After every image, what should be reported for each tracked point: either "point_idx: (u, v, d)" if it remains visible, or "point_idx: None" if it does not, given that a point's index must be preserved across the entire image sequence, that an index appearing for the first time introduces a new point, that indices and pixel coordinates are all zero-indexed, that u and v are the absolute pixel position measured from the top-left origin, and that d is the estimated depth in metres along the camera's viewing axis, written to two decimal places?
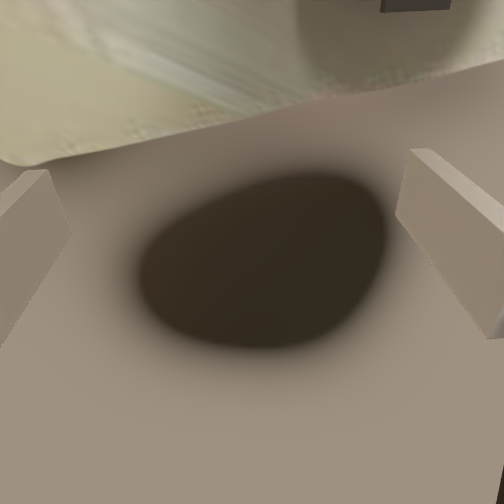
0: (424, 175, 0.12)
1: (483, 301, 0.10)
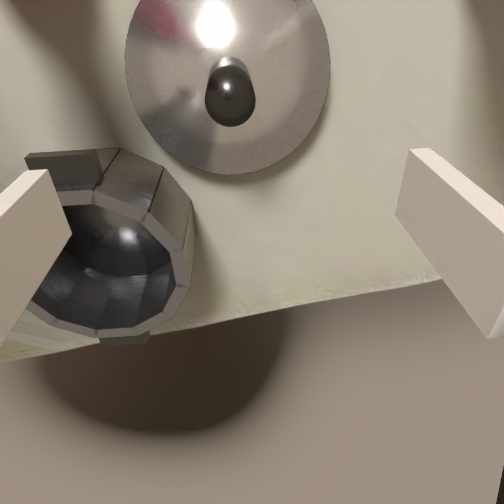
0: (424, 175, 0.12)
1: (483, 301, 0.10)
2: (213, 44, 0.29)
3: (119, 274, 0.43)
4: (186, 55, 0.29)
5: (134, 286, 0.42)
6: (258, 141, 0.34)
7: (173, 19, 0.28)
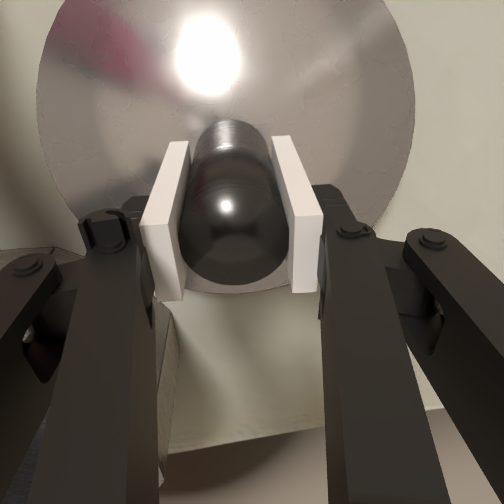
0: (275, 159, 0.14)
1: (290, 261, 0.11)
2: (202, 98, 0.15)
3: None
4: (152, 117, 0.16)
5: None
6: None
7: (123, 55, 0.14)
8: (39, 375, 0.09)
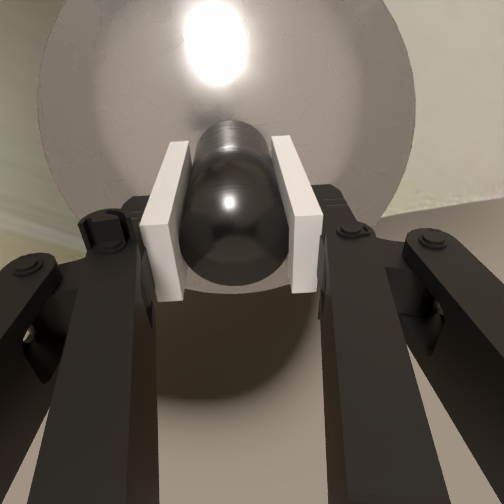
0: (275, 159, 0.14)
1: (290, 261, 0.11)
2: (203, 99, 0.15)
3: None
4: (153, 118, 0.16)
5: None
6: None
7: (124, 55, 0.14)
8: (39, 375, 0.09)
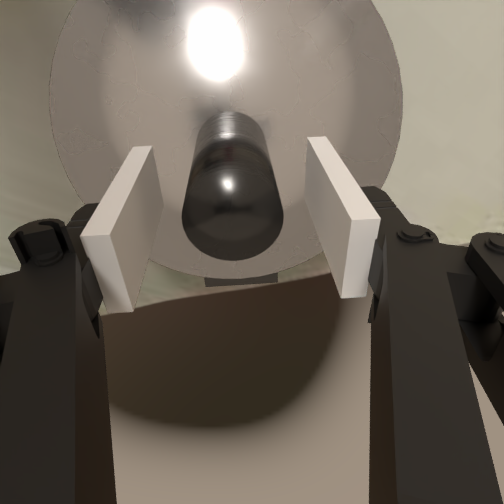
0: (313, 160, 0.14)
1: (338, 265, 0.11)
2: (203, 91, 0.17)
3: None
4: (157, 109, 0.17)
5: None
6: None
7: (130, 50, 0.15)
8: None
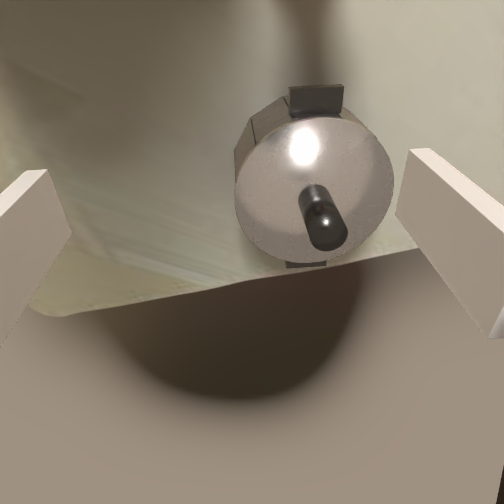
0: (424, 175, 0.12)
1: (483, 301, 0.10)
2: (305, 177, 0.37)
3: None
4: (283, 184, 0.38)
5: None
6: None
7: (276, 161, 0.36)
8: None
